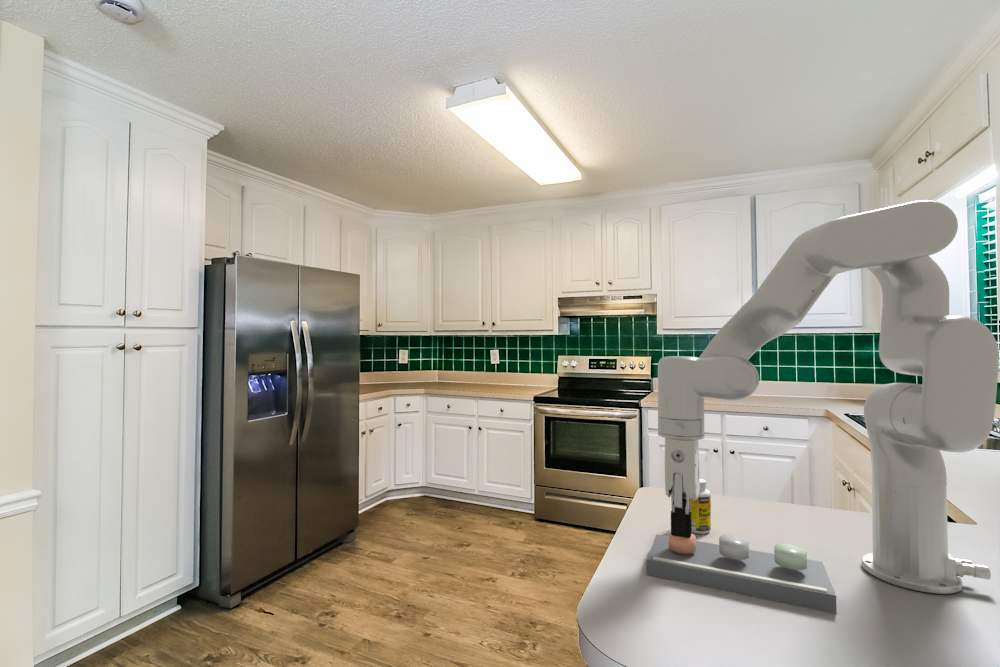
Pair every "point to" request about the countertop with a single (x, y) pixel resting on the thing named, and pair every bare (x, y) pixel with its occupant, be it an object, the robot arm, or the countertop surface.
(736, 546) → the grey button
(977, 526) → the countertop surface
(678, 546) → the terracotta button
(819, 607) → the button panel
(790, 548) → the sage button
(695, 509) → the supplement bottle
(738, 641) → the countertop surface
